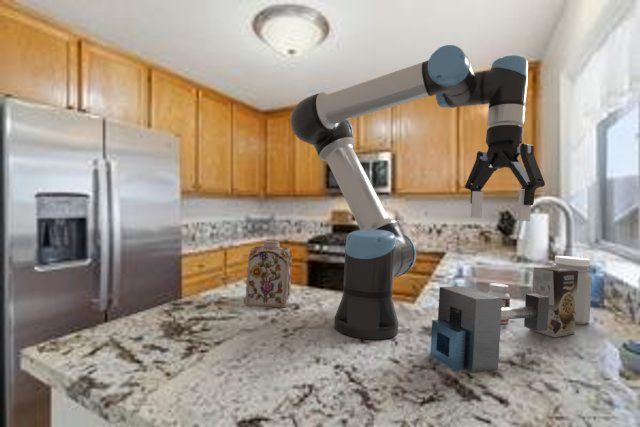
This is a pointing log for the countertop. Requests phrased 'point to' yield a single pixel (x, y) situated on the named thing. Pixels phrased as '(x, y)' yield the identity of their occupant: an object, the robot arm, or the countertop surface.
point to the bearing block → (473, 324)
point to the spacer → (456, 346)
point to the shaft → (530, 312)
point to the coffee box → (557, 298)
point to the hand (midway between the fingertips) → (497, 219)
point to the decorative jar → (269, 275)
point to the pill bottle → (500, 295)
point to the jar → (579, 284)
